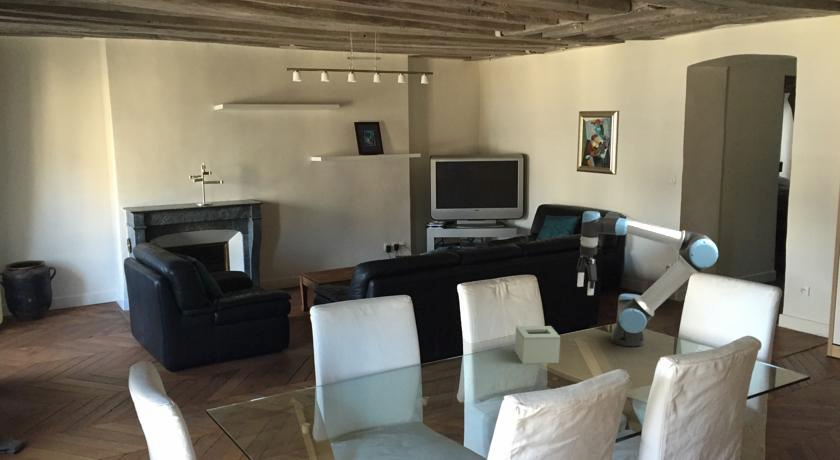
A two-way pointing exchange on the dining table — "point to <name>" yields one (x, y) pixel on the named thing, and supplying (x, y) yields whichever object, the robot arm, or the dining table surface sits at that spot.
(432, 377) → the dining table surface
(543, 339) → the box
